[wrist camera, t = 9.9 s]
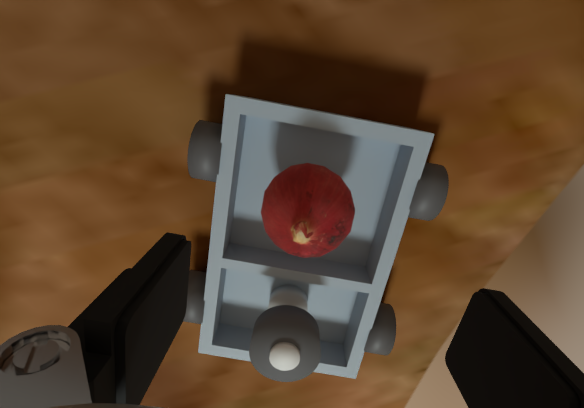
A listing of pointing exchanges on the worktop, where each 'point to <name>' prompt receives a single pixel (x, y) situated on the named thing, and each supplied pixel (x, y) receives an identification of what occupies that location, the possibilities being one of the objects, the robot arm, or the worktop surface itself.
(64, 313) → the worktop surface
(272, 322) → the spare wheel
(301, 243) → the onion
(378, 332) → the chassis
